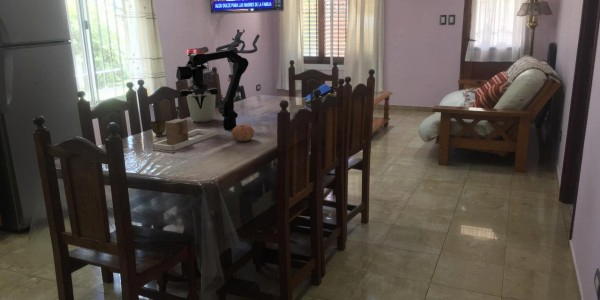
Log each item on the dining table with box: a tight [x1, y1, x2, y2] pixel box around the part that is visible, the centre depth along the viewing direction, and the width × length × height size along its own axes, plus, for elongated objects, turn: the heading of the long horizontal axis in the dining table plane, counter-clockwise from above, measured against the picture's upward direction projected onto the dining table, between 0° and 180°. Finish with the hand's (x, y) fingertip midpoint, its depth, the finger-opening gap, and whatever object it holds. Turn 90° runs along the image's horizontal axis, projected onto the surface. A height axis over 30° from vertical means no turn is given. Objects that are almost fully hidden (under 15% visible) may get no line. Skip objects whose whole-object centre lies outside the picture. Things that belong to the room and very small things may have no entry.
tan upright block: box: [165, 118, 189, 145], centre depth 221 cm, size 8×6×11 cm
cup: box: [149, 119, 166, 138], centre depth 244 cm, size 8×7×8 cm
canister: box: [185, 88, 216, 123], centre depth 279 cm, size 18×18×21 cm
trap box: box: [151, 128, 218, 154], centre depth 227 cm, size 32×12×4 cm, turn 152°
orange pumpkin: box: [231, 124, 255, 143], centre depth 230 cm, size 11×11×8 cm
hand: (200, 108), depth 246 cm, fingers closed
